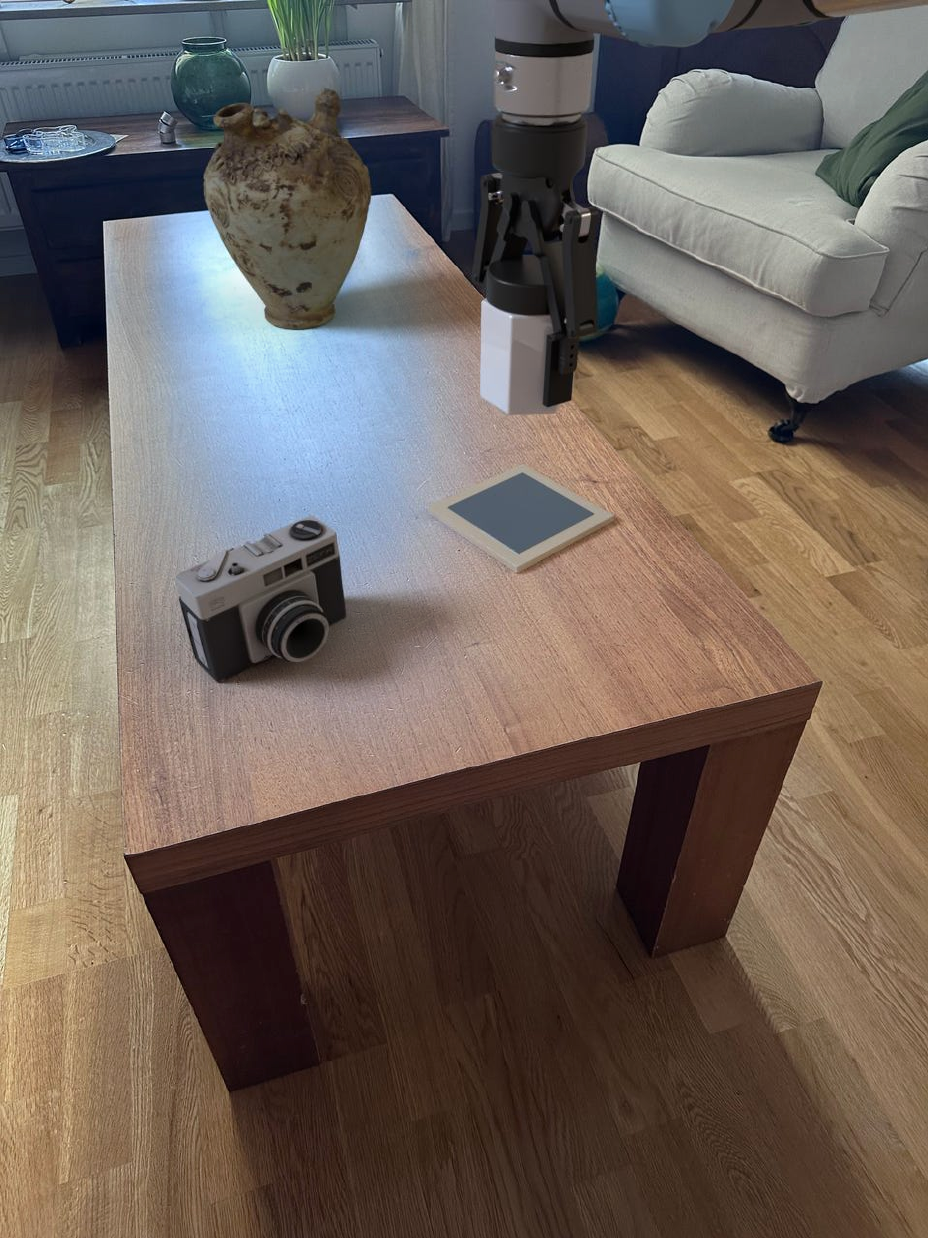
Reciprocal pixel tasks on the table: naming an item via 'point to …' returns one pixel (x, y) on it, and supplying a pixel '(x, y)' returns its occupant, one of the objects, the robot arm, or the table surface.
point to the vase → (289, 206)
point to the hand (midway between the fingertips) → (527, 382)
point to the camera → (264, 599)
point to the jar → (515, 337)
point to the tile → (520, 516)
